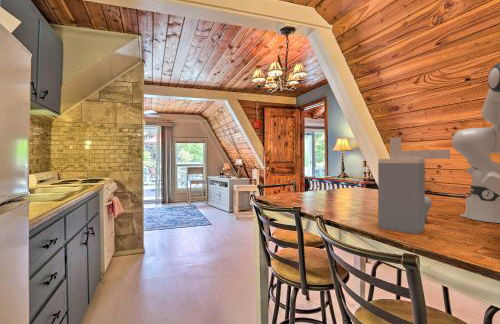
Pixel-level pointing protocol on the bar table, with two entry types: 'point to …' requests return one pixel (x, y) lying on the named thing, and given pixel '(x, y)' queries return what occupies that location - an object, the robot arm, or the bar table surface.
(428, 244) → the bar table surface
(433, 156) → the block
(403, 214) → the stand
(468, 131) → the robot arm
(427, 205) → the lightbulb
